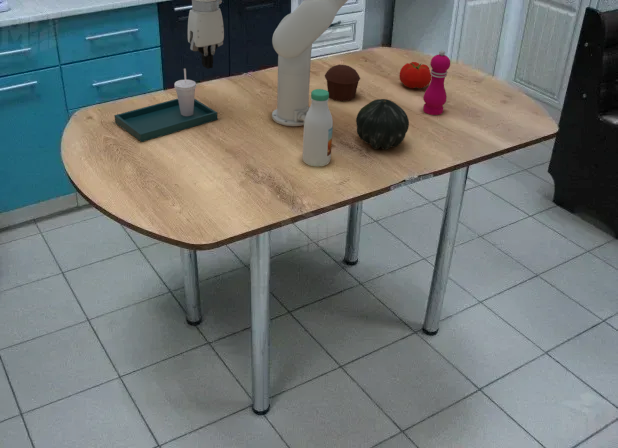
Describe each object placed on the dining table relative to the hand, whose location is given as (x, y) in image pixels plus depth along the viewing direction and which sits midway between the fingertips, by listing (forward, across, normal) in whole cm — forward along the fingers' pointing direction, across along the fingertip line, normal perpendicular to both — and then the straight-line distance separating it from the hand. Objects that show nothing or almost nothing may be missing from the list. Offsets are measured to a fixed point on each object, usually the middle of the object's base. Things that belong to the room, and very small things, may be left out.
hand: (207, 66), depth 201 cm
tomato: (+13, -68, +24) cm, 73 cm away
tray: (+14, +15, 0) cm, 20 cm away
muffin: (+13, -41, +16) cm, 46 cm away
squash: (+13, -27, +48) cm, 57 cm away
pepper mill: (+13, -57, +42) cm, 72 cm away
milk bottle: (+13, -5, +45) cm, 47 cm away
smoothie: (+13, +8, 0) cm, 15 cm away
